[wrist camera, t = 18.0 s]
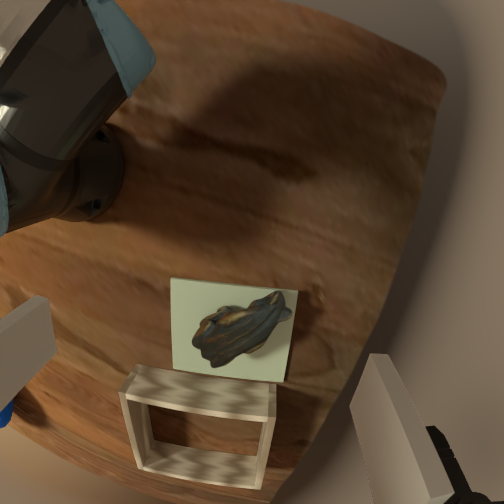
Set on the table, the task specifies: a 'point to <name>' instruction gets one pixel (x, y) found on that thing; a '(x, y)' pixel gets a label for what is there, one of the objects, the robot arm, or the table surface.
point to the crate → (200, 402)
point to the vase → (6, 414)
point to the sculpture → (239, 329)
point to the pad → (206, 303)
